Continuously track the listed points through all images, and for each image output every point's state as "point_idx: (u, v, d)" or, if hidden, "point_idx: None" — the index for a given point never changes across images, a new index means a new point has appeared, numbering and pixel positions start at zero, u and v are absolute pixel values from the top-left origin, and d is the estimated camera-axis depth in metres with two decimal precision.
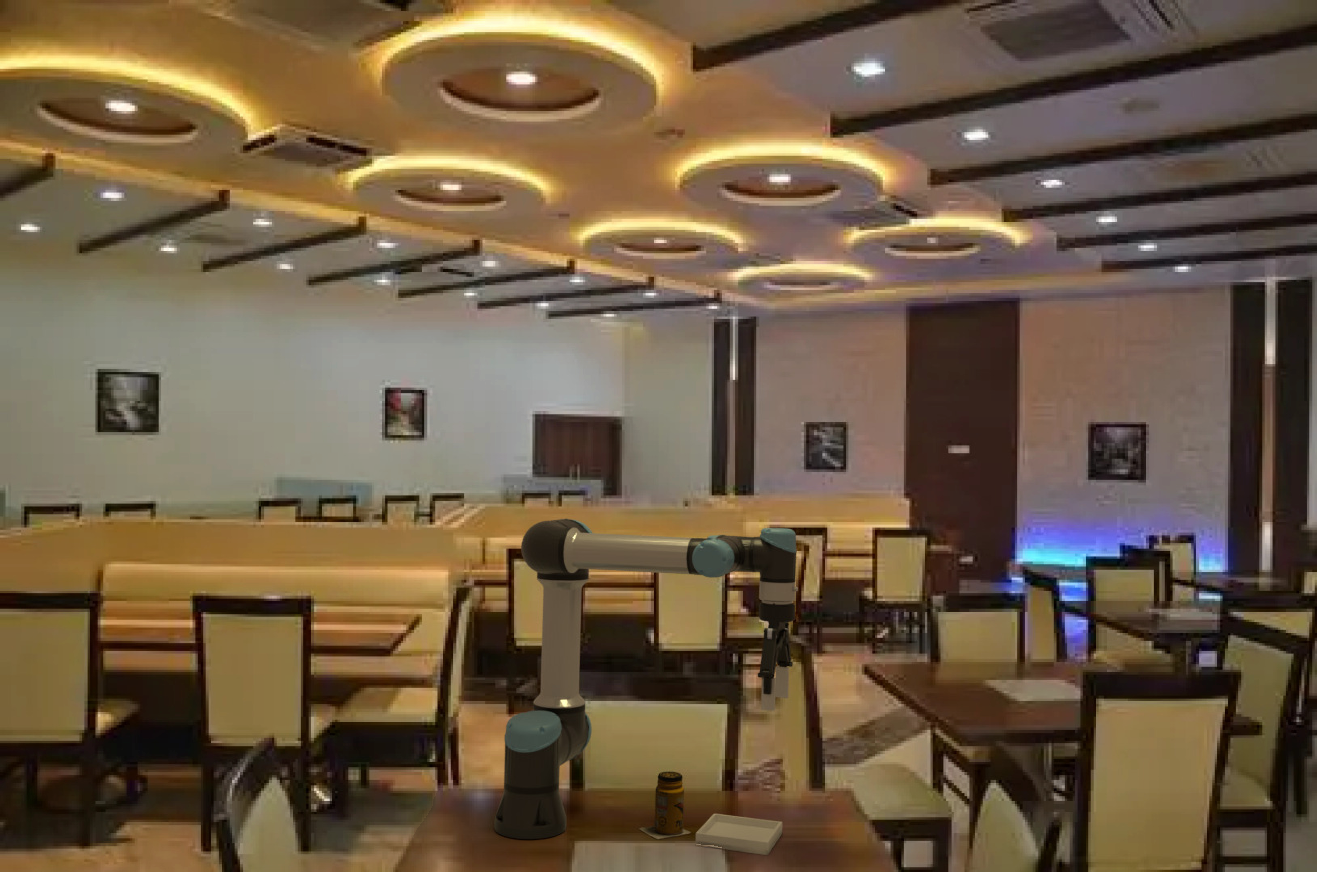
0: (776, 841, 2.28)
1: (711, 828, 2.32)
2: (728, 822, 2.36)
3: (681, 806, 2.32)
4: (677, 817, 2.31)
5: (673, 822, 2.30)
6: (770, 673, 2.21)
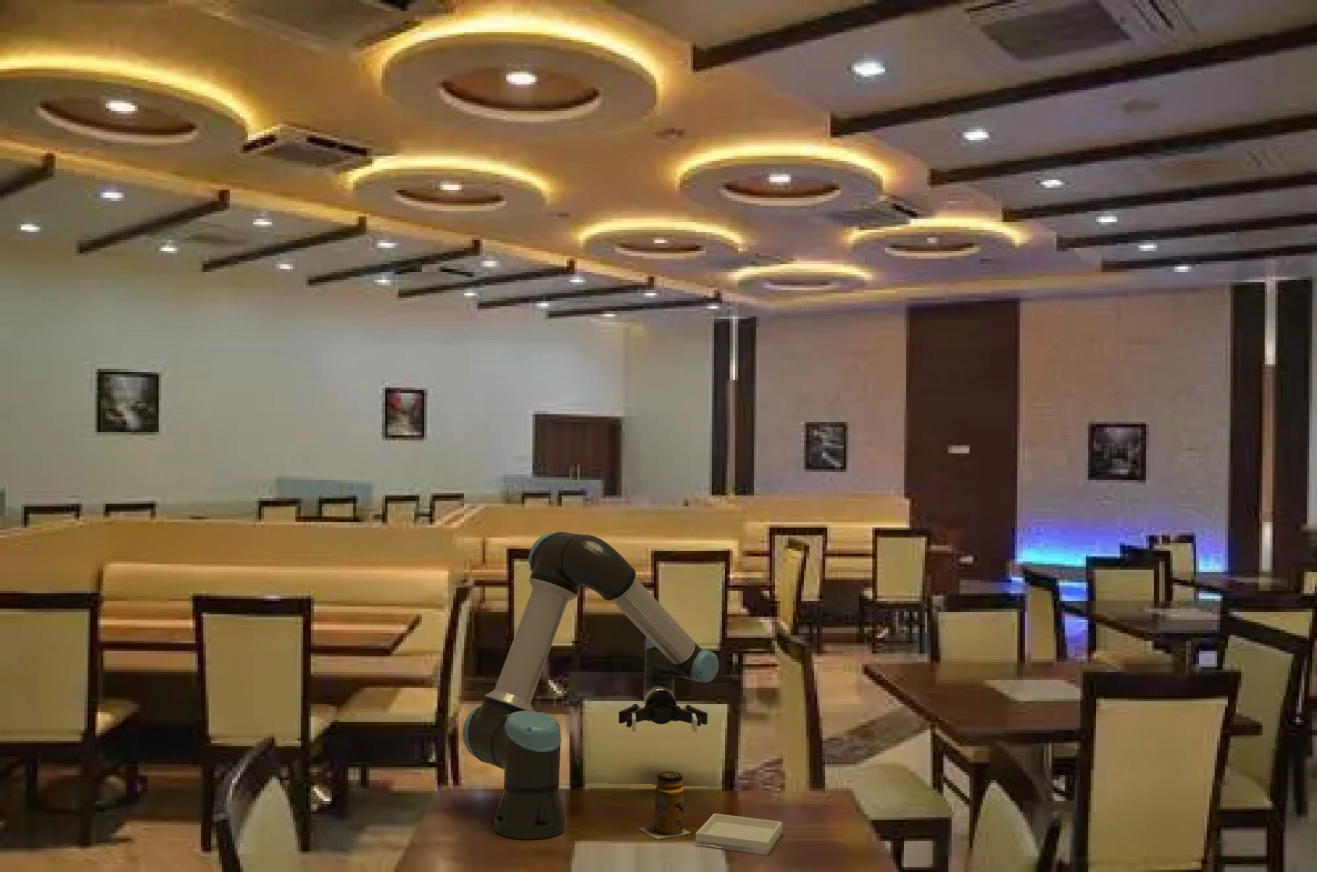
0: (776, 841, 2.28)
1: (711, 828, 2.32)
2: (728, 822, 2.36)
3: (681, 806, 2.32)
4: (677, 817, 2.31)
5: (673, 822, 2.30)
6: None
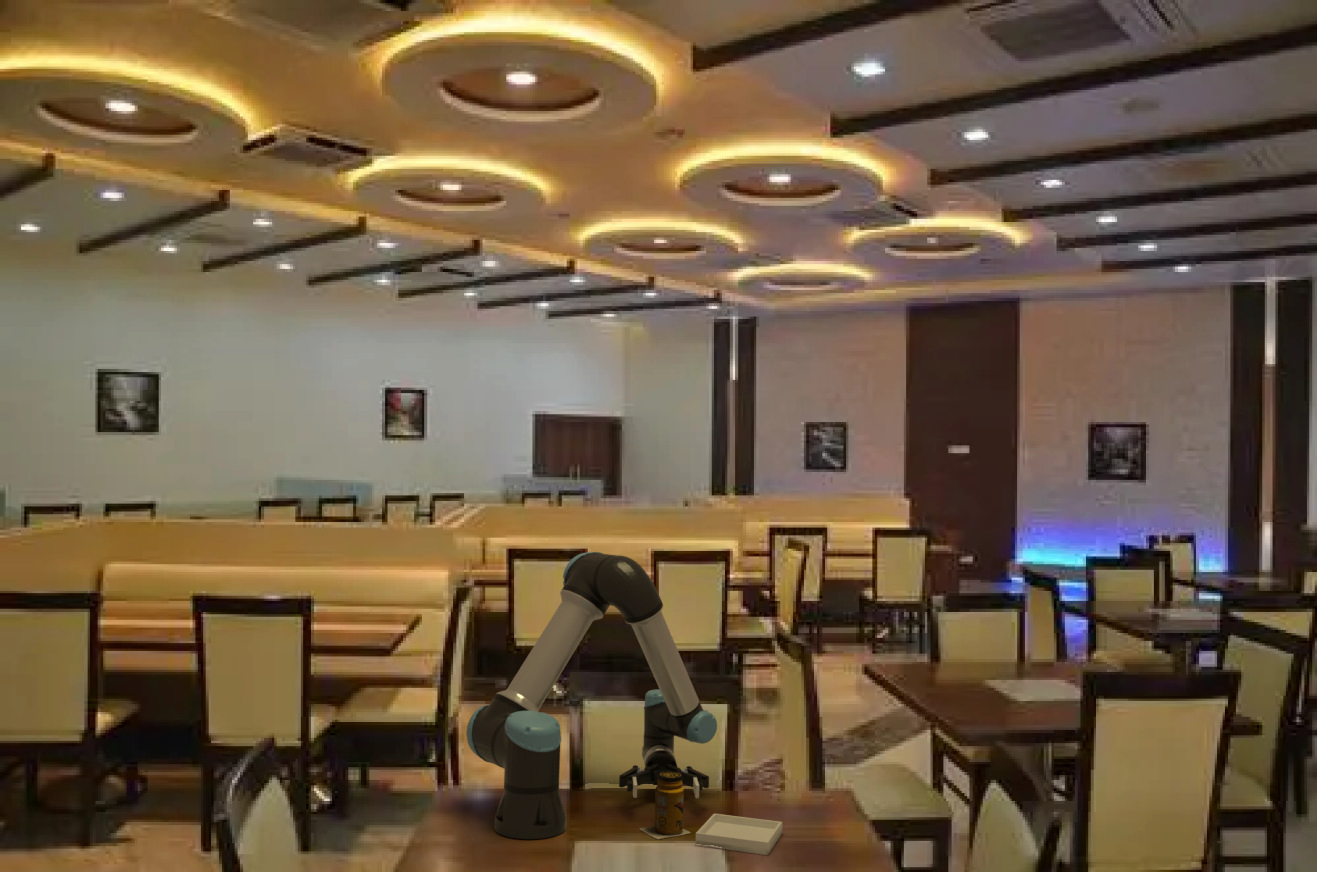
0: (776, 841, 2.28)
1: (711, 828, 2.32)
2: (728, 822, 2.36)
3: (681, 806, 2.32)
4: (677, 817, 2.31)
5: (673, 822, 2.30)
6: None
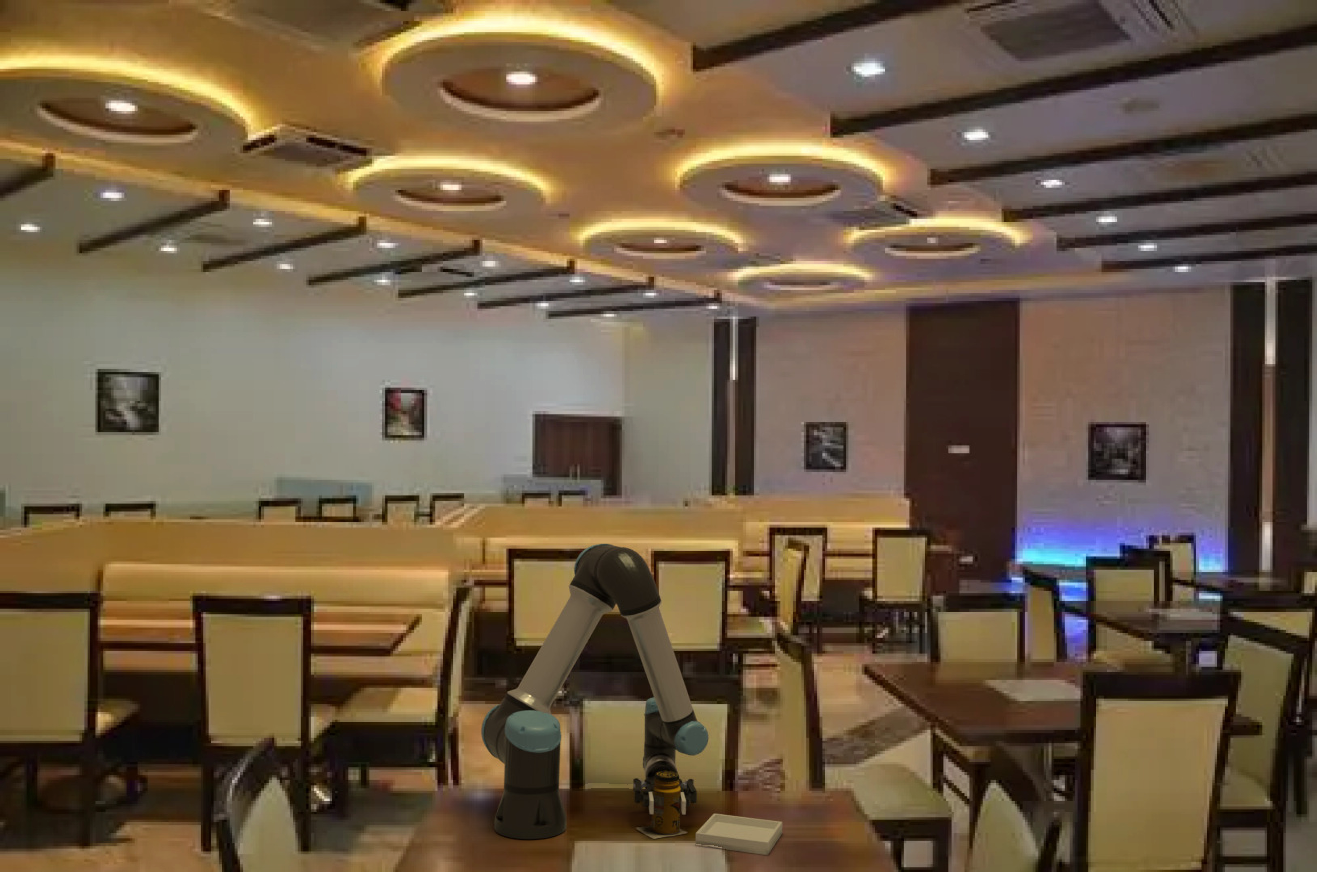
0: (776, 841, 2.28)
1: (711, 828, 2.32)
2: (728, 822, 2.36)
3: (678, 806, 2.32)
4: (673, 817, 2.31)
5: (669, 822, 2.30)
6: None
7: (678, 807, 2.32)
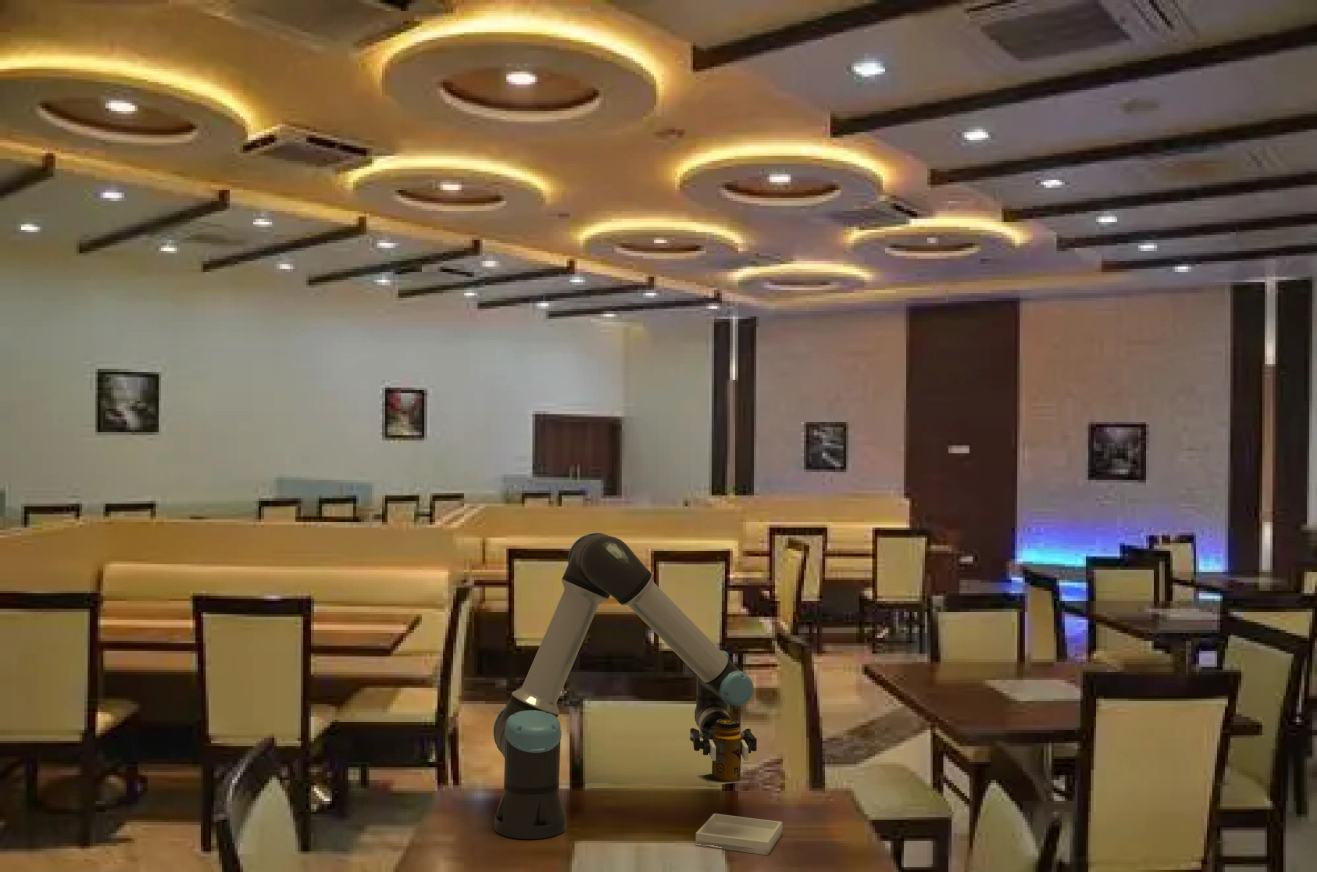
0: (776, 841, 2.28)
1: (711, 828, 2.32)
2: (728, 822, 2.36)
3: (739, 753, 2.30)
4: (734, 764, 2.29)
5: (731, 768, 2.28)
6: None
7: (739, 754, 2.30)
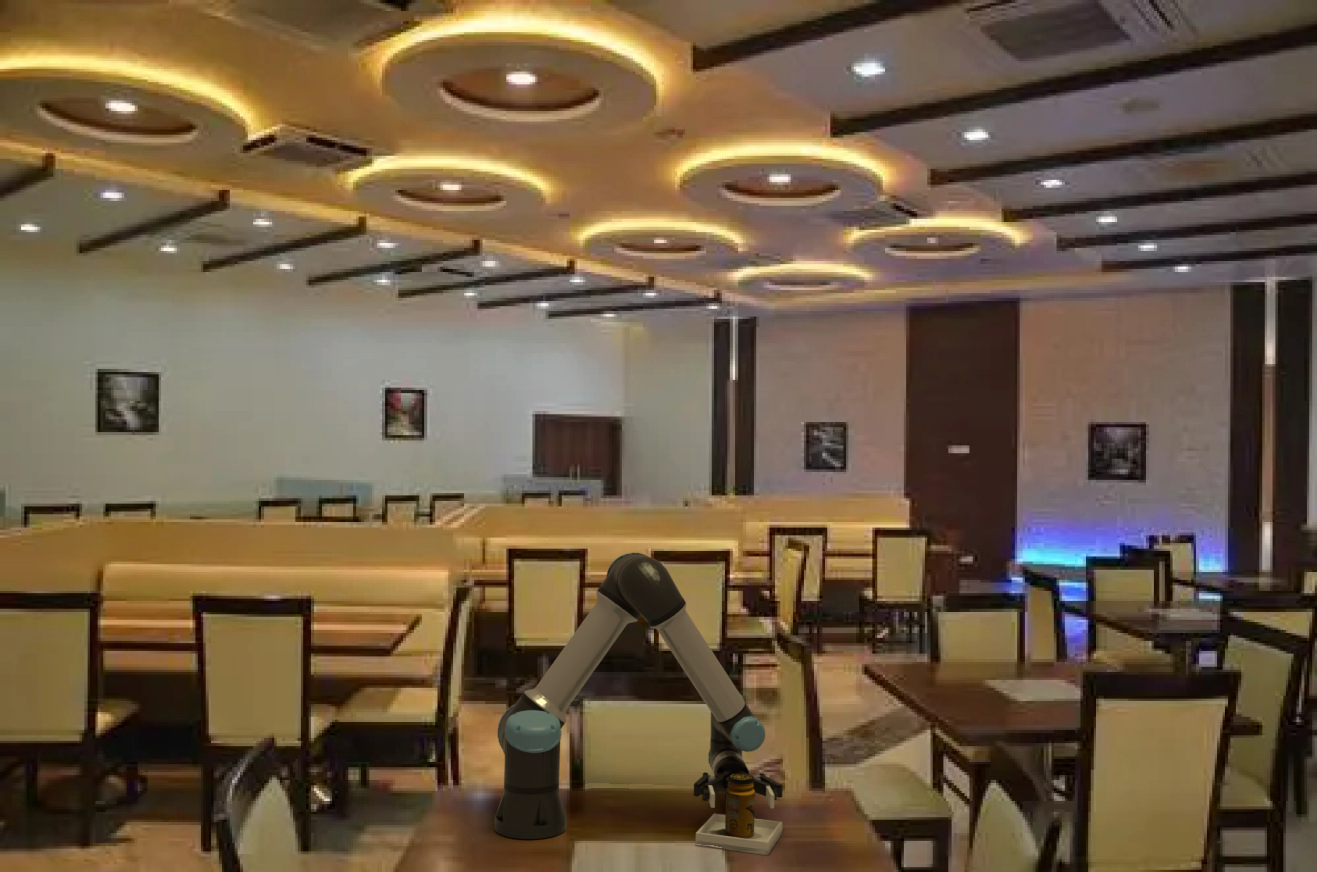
0: (776, 841, 2.28)
1: (711, 828, 2.32)
2: None
3: (752, 809, 2.28)
4: (748, 820, 2.27)
5: (744, 825, 2.26)
6: None
7: (753, 810, 2.28)
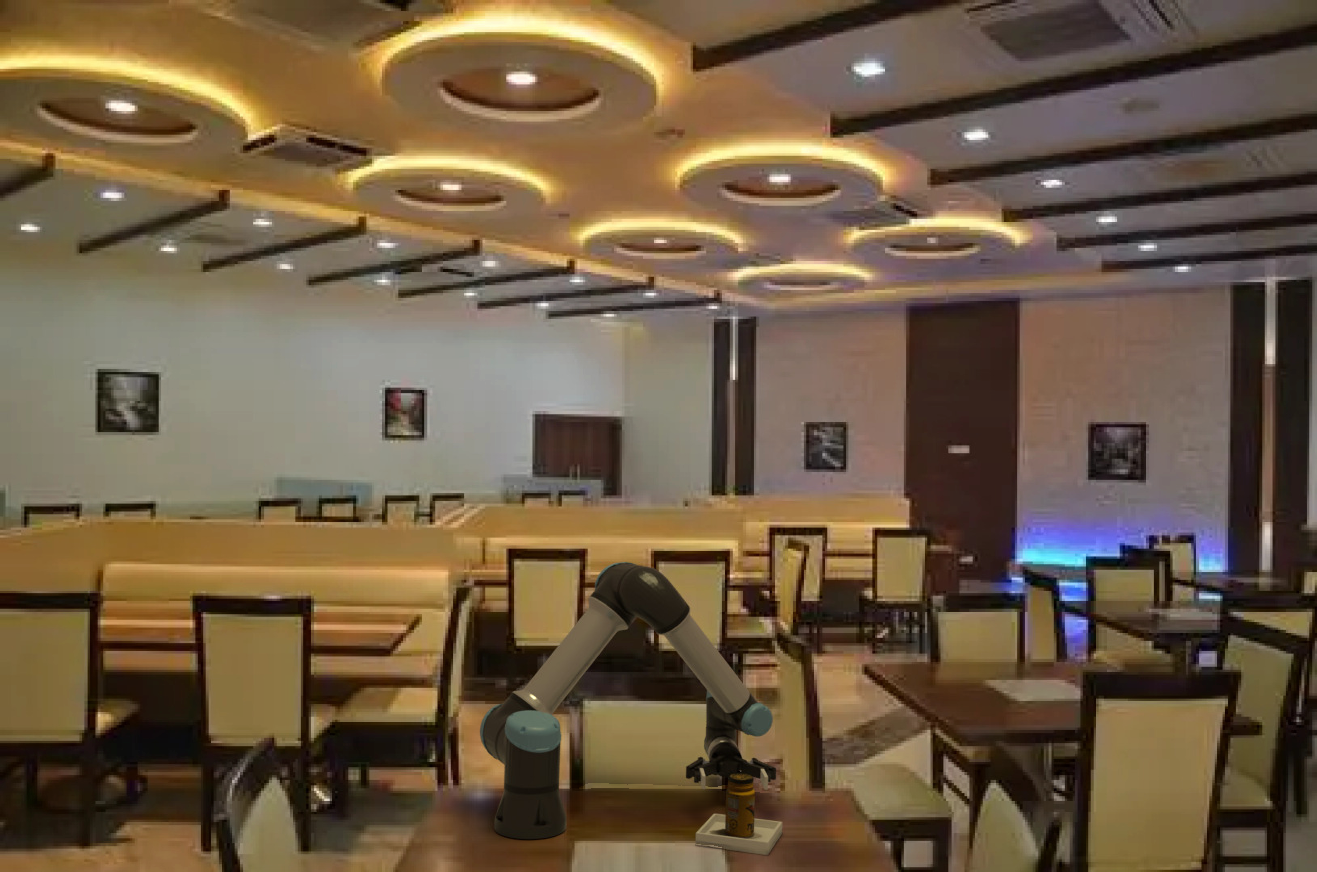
0: (776, 841, 2.28)
1: (711, 828, 2.32)
2: None
3: (752, 809, 2.28)
4: (748, 820, 2.27)
5: (744, 825, 2.26)
6: None
7: (753, 810, 2.28)
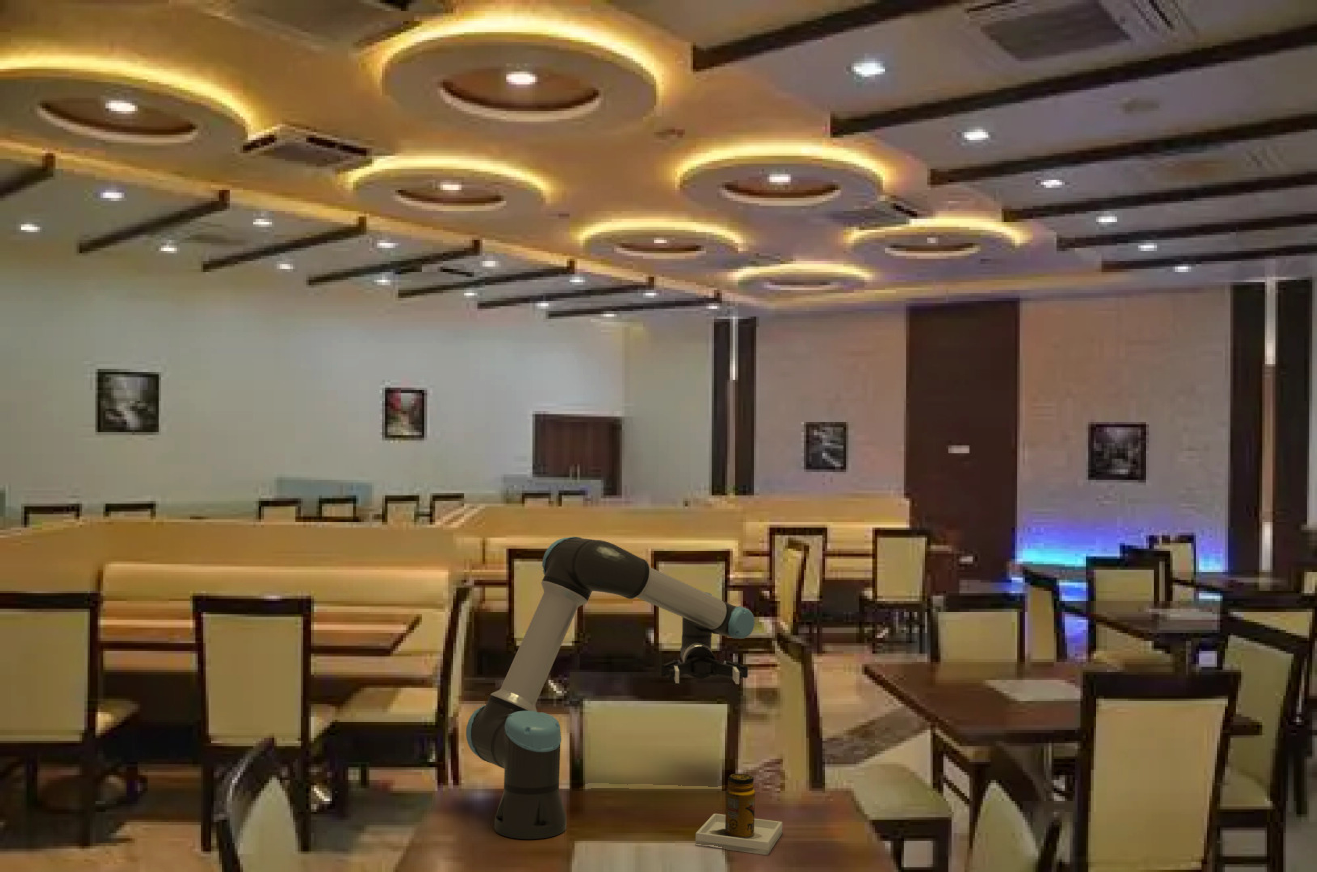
0: (776, 841, 2.28)
1: (711, 828, 2.32)
2: None
3: (752, 809, 2.28)
4: (748, 820, 2.27)
5: (744, 825, 2.26)
6: None
7: (753, 810, 2.28)
